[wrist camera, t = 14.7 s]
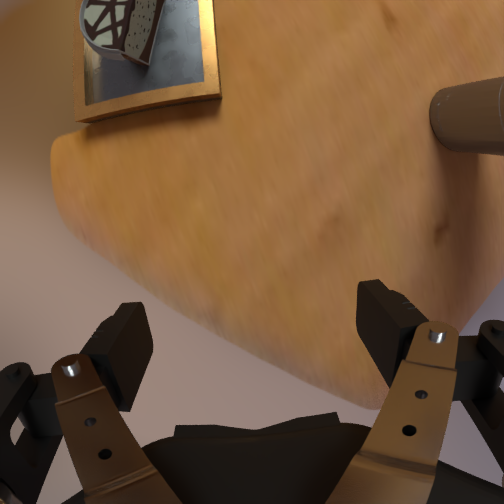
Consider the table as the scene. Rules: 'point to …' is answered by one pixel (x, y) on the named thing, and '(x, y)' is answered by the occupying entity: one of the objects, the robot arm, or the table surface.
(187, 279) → the table surface
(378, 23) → the table surface
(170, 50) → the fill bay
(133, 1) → the food container
